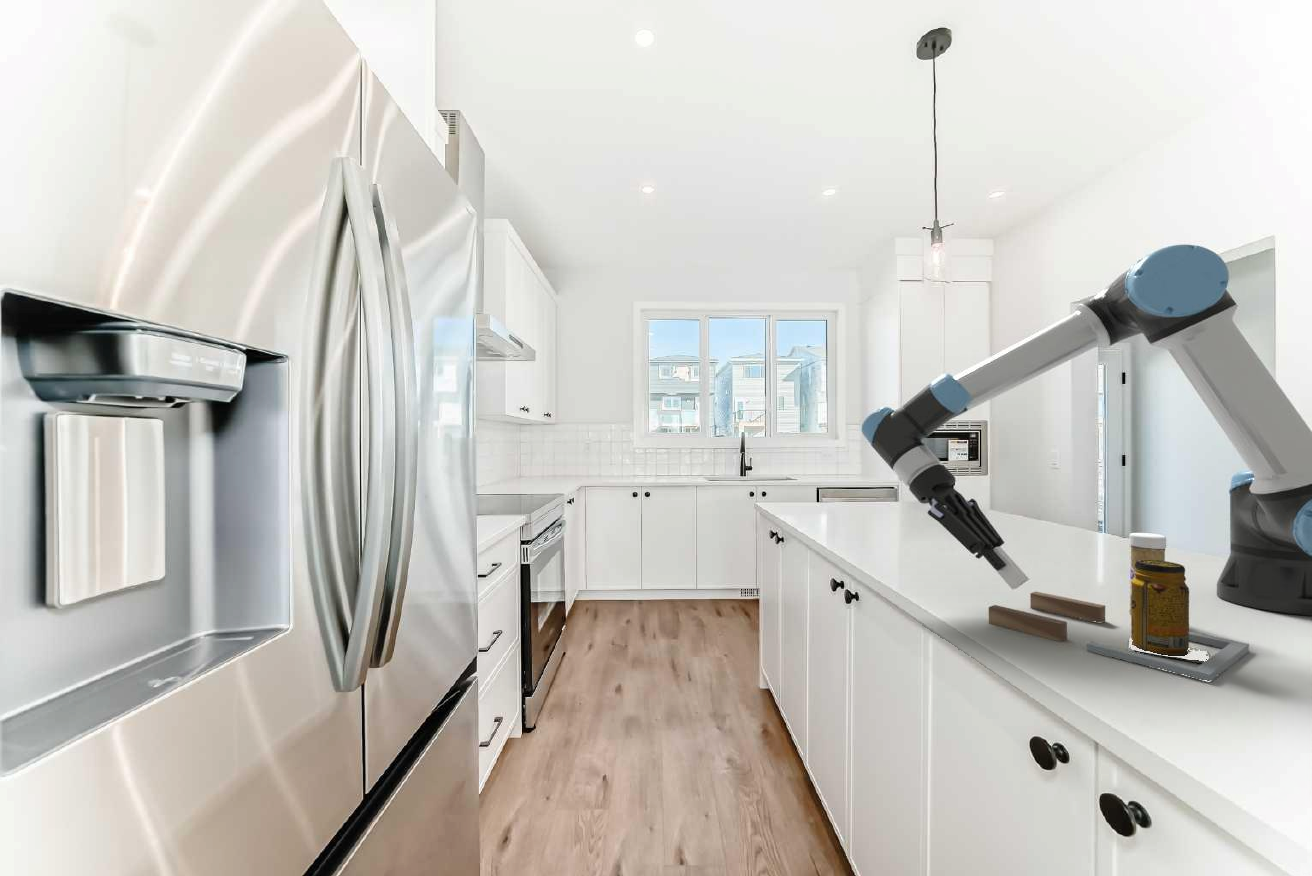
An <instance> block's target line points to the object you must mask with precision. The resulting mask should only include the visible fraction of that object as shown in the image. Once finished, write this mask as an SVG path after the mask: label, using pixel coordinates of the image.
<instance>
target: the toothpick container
mask: <svg viewBox="0 0 1312 876" xmlns="http://www.w3.org/2000/svg"><path fill="white" fill-rule="evenodd" d="M1128 539H1129V541H1128V543H1129V545H1130V546H1129V547H1130V568H1129V569H1130V570H1129V573H1130V575H1129V595H1130V596H1129V597H1130V599H1129V600H1130V601H1129V611H1128V613H1129V615H1130V616H1131V610H1132V608H1131V604H1132V603H1131V595H1132V592H1131V591H1132V588H1131V585H1132V584H1131V582H1132V580H1133V579H1134V578H1135V577H1136V576H1135V569H1136V568H1135V563H1136V562H1137V561H1138V560H1160V561H1166V560H1165V558H1166V555H1165V554H1166V548H1167V536H1164V535H1162V534H1158V533H1150V532H1149V533H1147V532H1132V533H1130V534H1129V537H1128Z"/></svg>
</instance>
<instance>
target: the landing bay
mask: <svg viewBox="0 0 1312 876" xmlns="http://www.w3.org/2000/svg"><path fill="white" fill-rule="evenodd" d="M1189 640H1191V641H1190V642H1192V641H1195V642H1194V643H1196V642H1199V643H1198V644H1201V643H1202V644H1201V645H1206V646H1210V645H1212V646H1211V647H1215V648H1220V650H1219V651H1217V652H1216V653H1215V654H1213V655H1211V656H1210V658H1209V659H1208V660H1207V661H1205V662H1204V663H1201V664H1199V665H1198V666H1196V667H1195V666H1191V665H1188V664H1183V663H1180V662H1176V661H1170V660H1168V659H1165V658H1164V659H1163V658H1160V657H1157V656H1153V655H1149V654H1144V653H1140V652H1135V651H1129V650H1128V649H1124V648H1119V647H1117V646H1116V647H1115V646H1111V645H1107V644H1103V643H1099V642H1095V641H1091V640H1090V641H1089V642H1087V643H1086V652H1090V653H1094V654H1099V655H1102V656H1105V657H1109V656H1111V657H1110V658H1112V657H1115V658H1114V659H1116V658H1119V659H1118V660H1120V659H1123V660H1122V661H1124V660H1126V661H1125V662H1128V661H1130V662H1129V663H1132V662H1136V663H1139V664H1143V665H1147V666H1151V667H1154V668H1160V669H1164V670H1167V671H1171V672H1175V673H1177V674H1184V675H1187V676H1190V677H1194V678H1197V679H1201V680H1207V681H1210V680H1213V679H1214V678H1215V677H1216V676H1217V675H1219V674H1220V675H1221V674H1222V672H1223V671H1224V670H1225V671H1227V669H1229V668H1230V667H1231V666H1233V665H1234V664H1235V663H1236V662H1238V661H1239V660H1240V659H1242V657H1243V656H1245V655H1246V654H1248V653H1249V652H1250V644H1249V643H1246V642H1243V641H1237V640H1233V639H1227V638H1223V637H1218V636H1213V635H1209V634H1204V633H1200V632H1194V631H1190V630H1189ZM1139 664H1138V665H1139ZM1143 665H1142V666H1143ZM1147 666H1146V667H1147ZM1151 667H1150V668H1151ZM1154 668H1153V669H1154ZM1225 671H1224V672H1225ZM1177 674H1176V675H1177ZM1220 675H1219V676H1220ZM1216 678H1217V677H1216ZM1216 678H1215V679H1216ZM1215 679H1214V680H1215ZM1214 680H1213V681H1214Z"/></svg>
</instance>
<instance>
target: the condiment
mask: <svg viewBox="0 0 1312 876" xmlns="http://www.w3.org/2000/svg"><path fill="white" fill-rule="evenodd" d="M1135 568H1136V569H1135V576H1136V577H1135V578H1134V579H1133V580H1132V582H1131V584H1132V585H1131V588H1132V591H1131V592H1132V595H1131V603H1132V604H1131V608H1132V610H1131V615H1130V616H1131V617H1130V618H1131V621H1130V623H1131V624H1130V626H1131V627H1130V628H1131V629H1130V631H1131V633H1130V634H1131V635H1130V637H1131V638H1132V640H1133V641H1132V645H1134V646H1136V647H1137V648H1139V649H1142V650H1144V651H1150V652H1153V653H1157V654H1161V655H1168V656H1185V655H1187V654H1188V652H1189V651H1187V650H1188V648H1190V650H1193V649H1194V650H1195V651H1198V650H1199V649H1200V651H1208V649H1206V648H1201V647H1194V648H1192V647H1193V646H1190V645H1189V644H1190V641H1189V631H1190V605H1189V604H1190V588H1189V586H1188V585H1187V584H1186V580H1187V578H1186V576H1185V575H1186V568H1185V566H1184V565H1182V564H1180V563H1176V562H1171V561H1166V560H1165V561H1160V560H1138V561H1137V562H1136V563H1135ZM1189 646H1190V647H1189ZM1197 648H1199V649H1197ZM1127 650H1128V651H1132V652H1135V651H1136V650H1135V651H1134V650H1132V649H1131V647H1130V648H1128V647H1127ZM1208 652H1209V651H1208ZM1208 655H1209V656H1210V653H1209V654H1206V656H1208ZM1177 659H1179V660H1180V661H1183V660H1182V659H1181V658H1177ZM1206 660H1207V659H1206ZM1187 661H1188V662H1193V663H1201V664H1202V663H1204V661H1199V660H1186V662H1187Z"/></svg>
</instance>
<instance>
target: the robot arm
mask: <svg viewBox="0 0 1312 876" xmlns="http://www.w3.org/2000/svg"><path fill="white" fill-rule="evenodd" d="M1229 274H1230V273H1229V269H1228V266H1227V264H1226V262H1225V261H1224V259H1222V257H1221V256H1220V255H1218V254H1217V253H1216V252H1215V251H1212V250H1211V249H1209V248H1206V247H1205V246H1201V245H1194V244H1193V245H1192V244H1175V245H1169V246H1166V247H1162V248H1159V249H1158V250H1155V251H1154V252H1152V253H1149V254H1146V255H1145V256H1144V257H1142V258H1141V259H1139V260H1137V261H1136V262H1135V263H1134V264H1133V265H1132V266H1131V267H1130V268H1129V269H1127V270H1126V271H1125V272H1124V273H1122V274H1120V275H1119V276H1118V277H1117V278H1116V279H1115V280H1114V281H1113V282H1111V283H1110V284H1108V285H1107V286H1106V287H1105V288H1104V289H1102V290H1101V291H1099V292H1098V293H1096V294H1095V295H1094V296H1093V297H1091V298H1088V299H1087V300H1085V301H1084V302H1081V303H1079V304H1077V306H1076V307H1075V309H1074V310H1075V311H1074V313H1071V314H1070V315H1068V316H1066V317H1065V318H1063V319H1060V320H1058V321H1057V322H1055V323H1053V324H1051V325H1049V326H1048V327H1045V328H1043V329H1042V330H1040V331H1037V332H1036V333H1034V334H1032V335H1031V336H1027V338H1025V339H1023V340H1021V341H1019V342H1017V343H1015V344H1013V345H1011V346H1010V347H1007V348H1006V349H1003V350H1002V351H1000V352H998V353H996V354H995V355H993V356H991V357H989V358H987V359H985V360H983V361H981V362H979V363H978V364H974V365H973V366H972V367H970V368H968V369H966V370H964V371H962V372H960V373H958V374H957V375H955V376H953V375H952V374H950V373H943V374H941V375H939V376H938V377H937V378H935V379H934V380H932V381H930V382H929V384H928V385H926V386H925V387H924V388H923V389H922V390H920V391H919V392H918V393H917V394H915V395H914V396H913V397H912V398H911V399H909V400H908V401H907V402H906V403H904V404H903V405H902V406H900V407H898V408H897V409H896V410H894V409H892V408H891V407H888V406H883V407H880V408H878V409H877V410H874V411H872V412H871V413H869V415H868V416H867V417H866V418H865V419H864V421H863V423H862V425H861V432H862V434H863V436H864V437H865V439H866V440H867V442H868V443H869V444H870V446H871V447H872V448H873V449H874V450H875V452H877V455H879V456H880V457H881V458H882V460H883V461H884V462H885V463H886V464H887V465H888V467H889V468H890V469H891V470H892V471H893V472H894V473H895V475H897V477H898V480H899V481H902V483H903V484H904V485H905V486H906V487H908V490H909V492H910V493H912V495H913V496H914V497H915V498H916V499H917V501H918V502H919V503H921V504H922V505H923V504H929V506H930V507H931V508H930V509H928V511H927V515H928V516H930V517H931V518H932V519H934V520H935V521H937V522H938V523H939V524H940V525H941V526H942V527H943V528H944V529H945V530H946V531H948V532H949V533H950V535H952V536H953V537H954V538H955V539H956V540H957V541H958V542H959V543H960V544H961V545H963V547H964V548H965V549H966V550H967V551H968V552H970V553H971V554H972V555H974V557H975V558H976V559H979V560H980V559H981V558H982V557H983V558H985V560H986V561H987V562H988V564H989V565H990V566H991V567H992V568H993V569H994V570H995V571H996V573H997V574H998V575H999V576H1000V577H1001V578H1002V579H1003V580H1004V582H1005V583H1006V584H1007V585H1008V587H1010V588H1011V590H1016V589H1018V588H1019V587H1021V586H1022V585H1023V584H1025V583H1026V582H1027V581H1029V580H1030V578H1029V577H1028V575H1026V573H1024V571H1023V570H1022V569H1021V567H1019V566H1018V565H1017V563H1016V562H1015V561H1013V559H1012V558H1011V557H1010V556H1009V555H1008V554H1007V552H1006V551H1005V550H1004V549H1003V548H1002V546H1003V545H1004V544H1005V541H1004V540H1003V538H1002V536H1001V535H1000V534H999V533H998V532H997V530H996V528H995V527H994V526H993V525H992V524H991V522H990V521H989V520H988V518H987V517H986V515H985V514H984V513H983V512H982V510H981V509H980V506H979V504H978V502H977V501H976V499H974V498H971V499H969V500H966V498H965V497H964V496H963V495H962V494H961V493H960V492H958V490H956V489H955V488H954V486H955V484H956V482H957V481H956V477H955V476H954V475H953V473H952V472H950V470H949V469H948V468H947V467H946V466H945V465H944V464H941V460H940V459H939V458H938V456H936V455H935V453H933V452H932V450H931V449H930V448H929V447H928V446H927V445H926V444H924V442H923V440H925V439H927V438H928V437H929V436H930V435H931V434H933V433H934V432H936V431H937V430H938V429H940V428H941V427H942V426H944V425H945V424H947V423H948V422H949V421H951V420H952V419H954V418H956V417H959V416H961V415H962V414H964V413H966V412H968V411H970V410H972V409H974V408H976V407H978V406H980V405H982V404H984V403H986V402H988V401H990V400H992V399H994V398H996V397H998V396H1000V395H1003V394H1004V393H1006V392H1008V391H1010V390H1012V389H1014V388H1016V387H1018V386H1020V385H1023V384H1024V383H1026V382H1028V381H1030V380H1032V379H1035V378H1036V377H1038V376H1040V375H1042V374H1044V373H1046V372H1048V371H1050V370H1052V369H1054V368H1057V367H1058V366H1061V365H1062V364H1064V363H1067V362H1068V361H1070V360H1072V359H1075V358H1076V357H1078V356H1080V355H1083V354H1084V353H1087V352H1089V351H1091V350H1092V349H1094V348H1109V347H1111V346H1113V345H1114V344H1116V343H1119V342H1122V341H1123V340H1126V339H1129V338H1132V337H1134V336H1138V335H1140V334H1143V336H1144V337H1145V339H1146V340H1147V342H1148V343H1149V345H1151V346H1152V347H1158V348H1163V349H1165V350H1168V352H1169V354H1170V355H1171V357H1172V359H1174V361H1175V362H1176V364H1177V365H1178V366H1179V368H1180V369H1181V371H1182V372H1183V374H1184V375H1185V377H1186V378H1187V379H1188V381H1189V383H1190V384H1191V385H1192V387H1193V388H1194V390H1195V391H1196V393H1197V394H1198V396H1199V397H1200V398H1201V401H1202V402H1203V403H1204V405H1205V406H1206V407H1207V409H1208V411H1209V412H1210V413H1211V414H1212V416H1213V418H1214V419H1215V421H1216V422H1217V423H1218V425H1219V426H1220V428H1221V429H1222V431H1223V432H1224V434H1225V436H1226V437H1227V438H1228V439H1229V441H1230V442H1231V444H1232V446H1233V447H1234V448H1235V450H1236V451H1237V453H1238V454H1239V456H1240V457H1241V458H1242V460H1243V462H1244V463H1245V464H1246V465H1247V467H1248V468H1249V470H1246V471H1239V472H1236V473H1235V474H1234V475H1232V476H1231V479H1230V480H1231V481H1230V488H1229V490H1228V493H1229V494H1230V495H1229V503H1230V504H1229V512H1230V513H1229V516H1230V518H1229V521H1230V522H1229V528H1230V529H1229V530H1230V531H1229V532H1230V533H1229V537H1230V540H1229V541H1230V545H1229V547H1230V553H1229V557H1228V558H1227V560H1226V562H1225V565H1224V566H1223V569H1222V571H1221V573H1220V576H1219V577H1218V580H1217V582H1216V596H1217V597H1219V598H1220V599H1222V600H1225V601H1227V602H1231V603H1234V604H1237V605H1241V606H1245V607H1250V608H1255V609H1260V610H1266V611H1271V612H1277V613H1284V614H1293V615H1303V616H1312V430H1311V428H1310V427H1309V426H1308V424H1307V423H1306V421H1305V420H1304V419H1303V417H1302V416H1301V414H1300V412H1298V410H1297V409H1296V408H1295V406H1294V405H1293V403H1292V401H1291V400H1290V399H1289V398H1288V396H1287V394H1286V393H1285V392H1284V391H1283V389H1282V388H1281V386H1280V385H1279V384H1278V382H1277V380H1275V378H1274V376H1273V375H1272V374H1271V373H1270V371H1269V370H1268V368H1267V367H1266V365H1265V364H1264V363H1263V362H1262V360H1261V359H1260V357H1259V355H1258V354H1257V352H1255V351H1254V349H1253V347H1252V345H1250V344H1249V342H1248V341H1247V339H1246V338H1245V337H1244V335H1243V334H1242V333H1241V331H1240V329H1239V328H1238V327H1237V325H1236V324H1235V322H1234V320H1233V319H1234V318H1233V317H1234V315H1235V314H1236V311H1237V309H1238V305H1237V302H1236V301H1235V300H1234V299H1233V297H1232V295H1231V294H1230V293H1229V291H1228V290H1227V287H1228V285H1229V284H1228V283H1229V280H1230V275H1229ZM976 553H977V554H976Z"/></svg>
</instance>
